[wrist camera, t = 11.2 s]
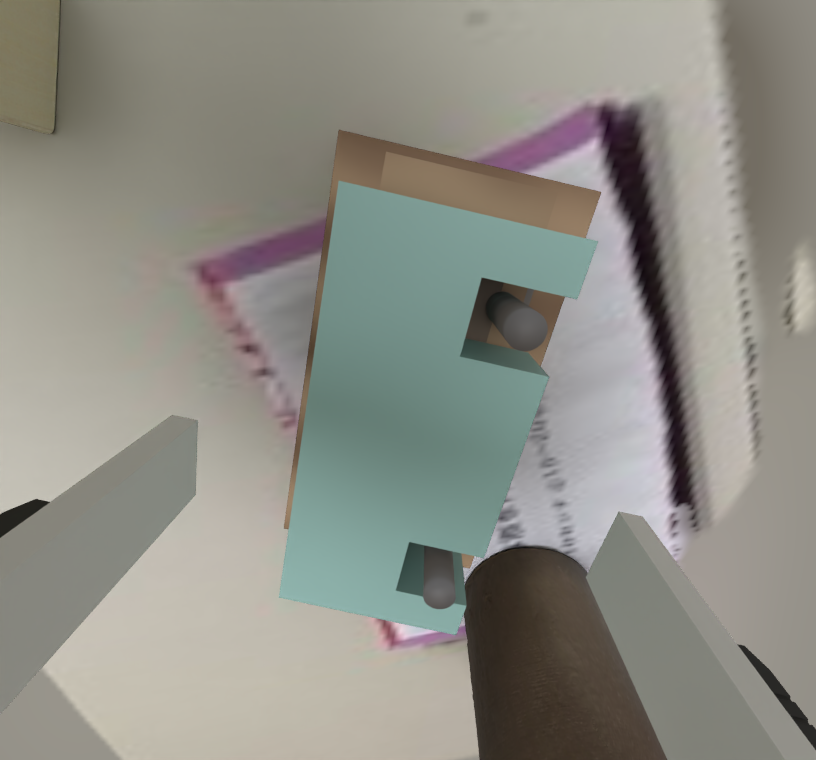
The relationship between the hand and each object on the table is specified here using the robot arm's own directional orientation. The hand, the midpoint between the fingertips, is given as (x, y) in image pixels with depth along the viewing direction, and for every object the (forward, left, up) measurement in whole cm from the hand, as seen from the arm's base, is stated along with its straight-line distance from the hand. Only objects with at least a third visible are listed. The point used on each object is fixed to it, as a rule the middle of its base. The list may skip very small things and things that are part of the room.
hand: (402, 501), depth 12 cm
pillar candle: (+15, +12, -13) cm, 24 cm away
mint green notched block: (+1, 0, -8) cm, 8 cm away
